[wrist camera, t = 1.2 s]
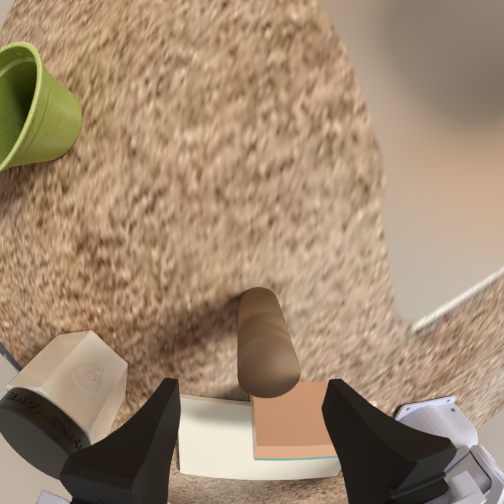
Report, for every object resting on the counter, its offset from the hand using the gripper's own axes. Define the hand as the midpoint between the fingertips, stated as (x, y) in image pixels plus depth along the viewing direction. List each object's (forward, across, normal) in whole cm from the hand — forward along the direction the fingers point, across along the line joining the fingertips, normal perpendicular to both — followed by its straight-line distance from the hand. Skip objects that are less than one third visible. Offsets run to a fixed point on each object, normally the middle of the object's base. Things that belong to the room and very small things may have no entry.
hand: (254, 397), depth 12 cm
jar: (+11, +14, +8) cm, 20 cm away
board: (+10, -4, +17) cm, 20 cm away
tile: (+10, -5, +8) cm, 14 cm away
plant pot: (+12, +17, -14) cm, 25 cm away
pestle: (+10, -1, 0) cm, 10 cm away
